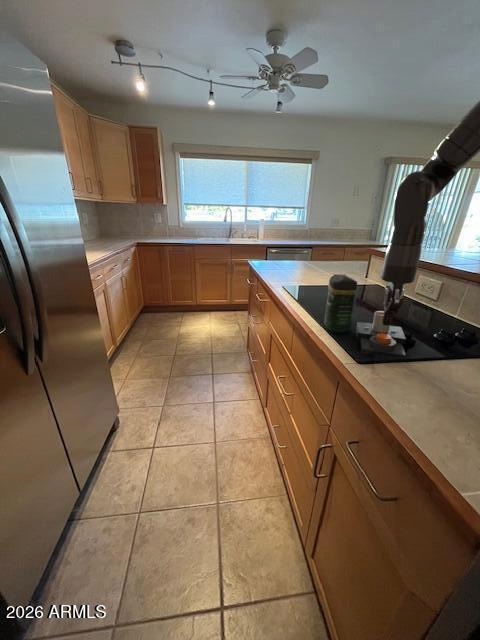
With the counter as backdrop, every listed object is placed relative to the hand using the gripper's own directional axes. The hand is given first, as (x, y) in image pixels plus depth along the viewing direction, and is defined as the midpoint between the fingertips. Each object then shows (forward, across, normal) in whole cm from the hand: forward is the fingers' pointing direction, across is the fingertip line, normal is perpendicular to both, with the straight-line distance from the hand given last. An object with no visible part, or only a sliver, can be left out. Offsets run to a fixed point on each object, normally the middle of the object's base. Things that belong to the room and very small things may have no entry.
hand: (386, 324), depth 73 cm
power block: (+9, 0, 0) cm, 9 cm away
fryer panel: (+9, +9, 0) cm, 12 cm away
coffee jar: (+9, +13, +12) cm, 20 cm away
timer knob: (+6, +9, 0) cm, 10 cm away
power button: (+5, 0, 0) cm, 6 cm away
